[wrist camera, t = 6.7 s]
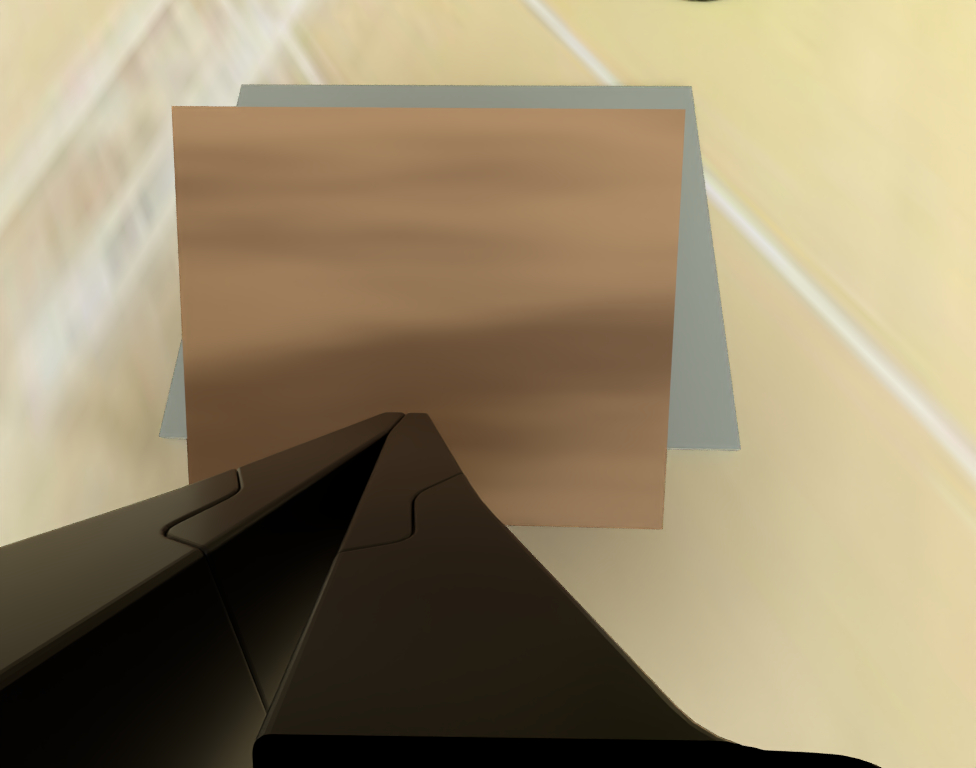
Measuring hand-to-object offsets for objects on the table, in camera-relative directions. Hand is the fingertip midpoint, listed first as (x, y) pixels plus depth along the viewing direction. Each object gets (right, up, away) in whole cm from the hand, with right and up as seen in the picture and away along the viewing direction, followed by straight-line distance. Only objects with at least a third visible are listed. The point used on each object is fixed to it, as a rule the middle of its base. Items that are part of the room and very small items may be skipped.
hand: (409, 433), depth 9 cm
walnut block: (0, -2, +5) cm, 5 cm away
